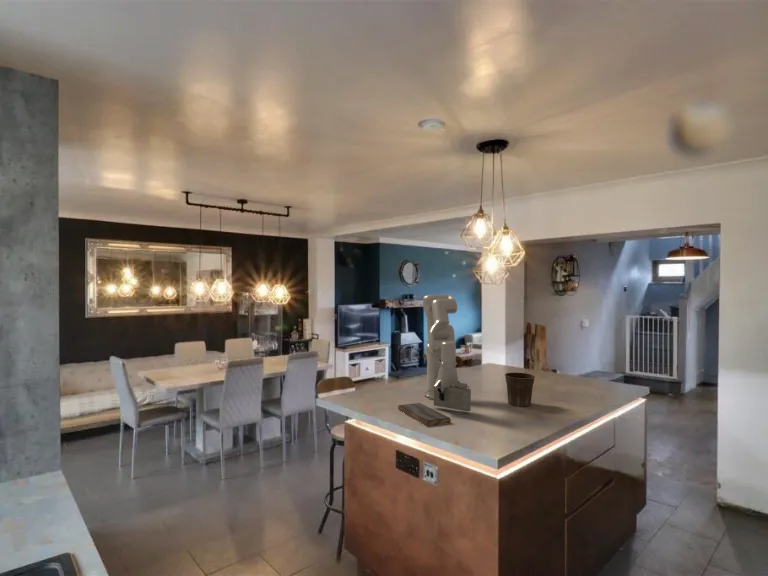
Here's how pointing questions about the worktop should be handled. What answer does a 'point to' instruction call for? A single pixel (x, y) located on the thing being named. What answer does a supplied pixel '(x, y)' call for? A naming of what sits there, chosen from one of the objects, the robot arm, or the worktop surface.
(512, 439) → the worktop surface
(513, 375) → the plant pot
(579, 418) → the worktop surface
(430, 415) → the brown wooden board
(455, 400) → the geiger counter
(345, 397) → the worktop surface
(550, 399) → the worktop surface
